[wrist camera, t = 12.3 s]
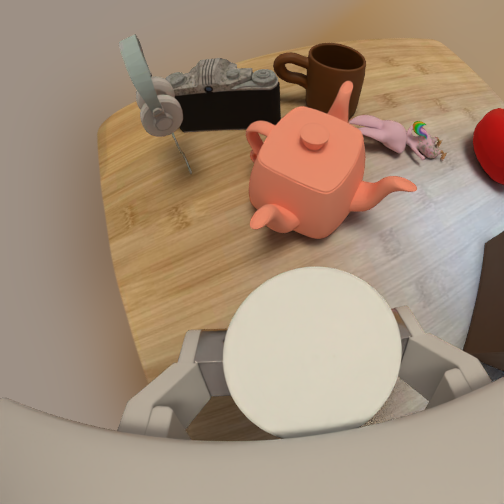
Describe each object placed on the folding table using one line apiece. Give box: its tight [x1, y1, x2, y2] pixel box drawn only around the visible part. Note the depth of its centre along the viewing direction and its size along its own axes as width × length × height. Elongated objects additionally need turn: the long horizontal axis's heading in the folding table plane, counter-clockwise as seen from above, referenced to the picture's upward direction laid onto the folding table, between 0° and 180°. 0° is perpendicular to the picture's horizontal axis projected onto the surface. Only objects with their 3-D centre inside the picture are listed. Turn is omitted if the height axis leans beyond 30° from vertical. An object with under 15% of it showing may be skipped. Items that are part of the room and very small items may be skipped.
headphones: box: [119, 35, 192, 174], centre depth 26 cm, size 8×4×20 cm, turn 23°
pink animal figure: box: [349, 115, 447, 160], centre depth 31 cm, size 6×6×15 cm
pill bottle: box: [223, 267, 402, 439], centre depth 10 cm, size 5×5×8 cm
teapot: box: [246, 81, 417, 239], centre depth 27 cm, size 14×14×11 cm
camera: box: [166, 58, 281, 132], centre depth 33 cm, size 15×7×10 cm, turn 86°
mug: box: [273, 43, 366, 118], centre depth 33 cm, size 12×8×9 cm, turn 84°
